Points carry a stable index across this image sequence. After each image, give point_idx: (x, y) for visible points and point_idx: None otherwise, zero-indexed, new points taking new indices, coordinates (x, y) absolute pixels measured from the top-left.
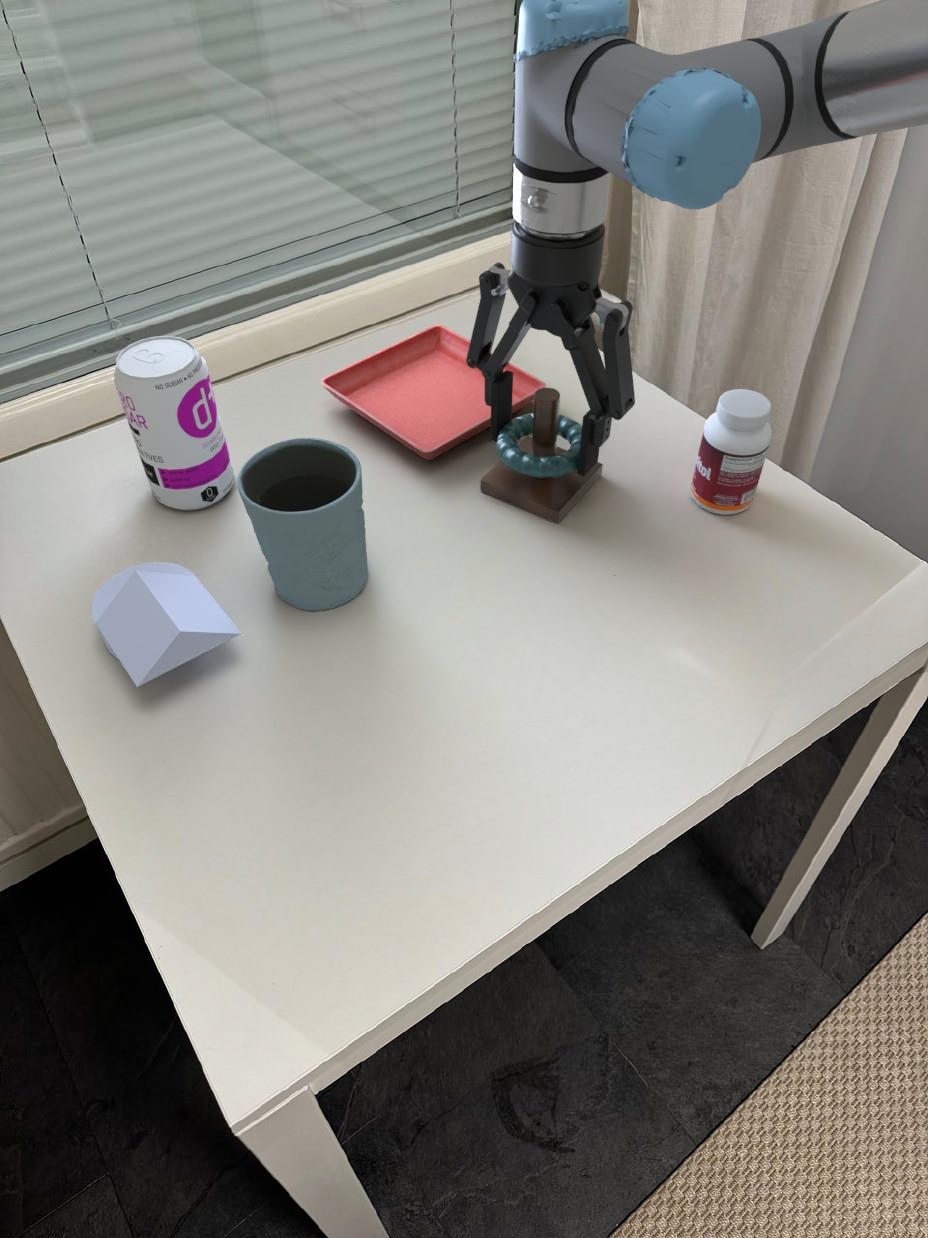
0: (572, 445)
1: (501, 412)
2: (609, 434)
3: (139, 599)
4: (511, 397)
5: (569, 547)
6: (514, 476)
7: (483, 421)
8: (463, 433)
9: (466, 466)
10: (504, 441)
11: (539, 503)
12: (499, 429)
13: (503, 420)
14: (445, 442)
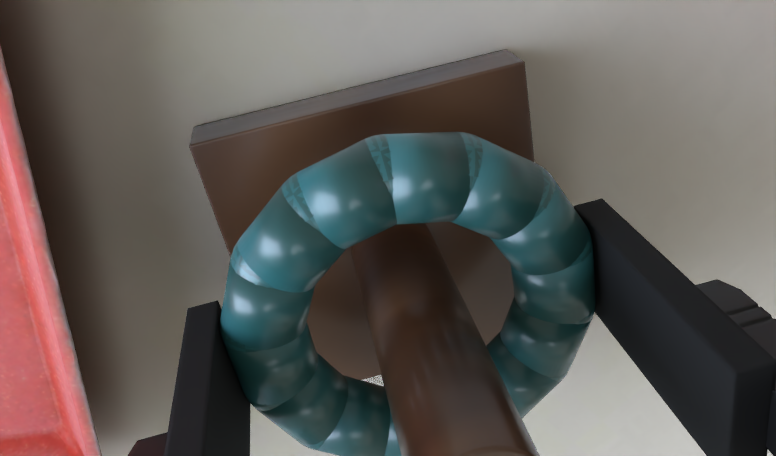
0: (526, 272)
1: (240, 450)
2: (746, 297)
3: None
4: (210, 413)
5: (607, 332)
6: (346, 324)
7: (59, 294)
8: (83, 383)
9: (153, 336)
10: (336, 450)
11: (486, 342)
12: (244, 402)
13: (235, 399)
14: (95, 451)
